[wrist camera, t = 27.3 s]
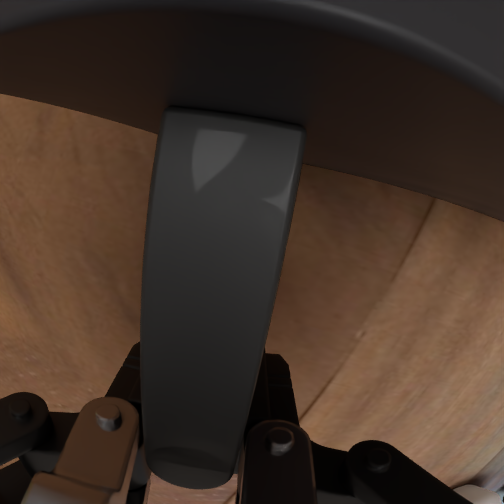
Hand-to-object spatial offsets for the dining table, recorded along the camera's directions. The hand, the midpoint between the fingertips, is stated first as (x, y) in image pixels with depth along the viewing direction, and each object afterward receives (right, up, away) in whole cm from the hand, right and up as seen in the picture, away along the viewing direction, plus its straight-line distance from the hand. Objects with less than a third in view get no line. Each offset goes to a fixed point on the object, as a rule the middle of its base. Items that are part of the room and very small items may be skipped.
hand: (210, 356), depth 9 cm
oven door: (+7, +4, +5) cm, 9 cm away
